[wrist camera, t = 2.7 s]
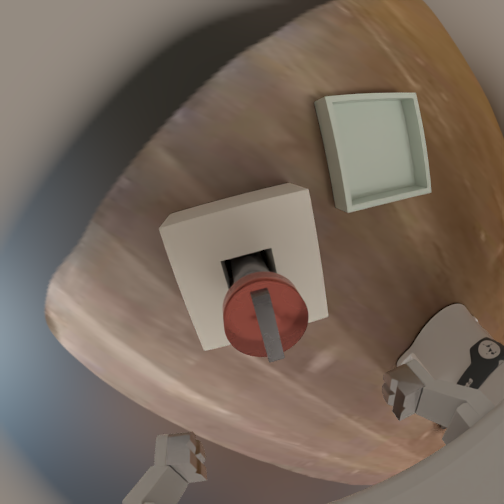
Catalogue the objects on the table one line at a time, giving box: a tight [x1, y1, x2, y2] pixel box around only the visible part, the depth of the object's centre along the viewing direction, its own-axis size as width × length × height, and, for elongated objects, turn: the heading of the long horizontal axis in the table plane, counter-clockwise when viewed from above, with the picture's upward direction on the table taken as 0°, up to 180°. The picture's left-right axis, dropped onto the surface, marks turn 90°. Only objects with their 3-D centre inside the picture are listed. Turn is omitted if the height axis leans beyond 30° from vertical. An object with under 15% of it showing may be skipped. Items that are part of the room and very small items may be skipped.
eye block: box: [159, 183, 328, 351], centre depth 26 cm, size 12×12×6 cm
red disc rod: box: [222, 251, 309, 362], centre depth 23 cm, size 5×5×14 cm
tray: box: [314, 93, 431, 213], centre depth 26 cm, size 11×11×3 cm
